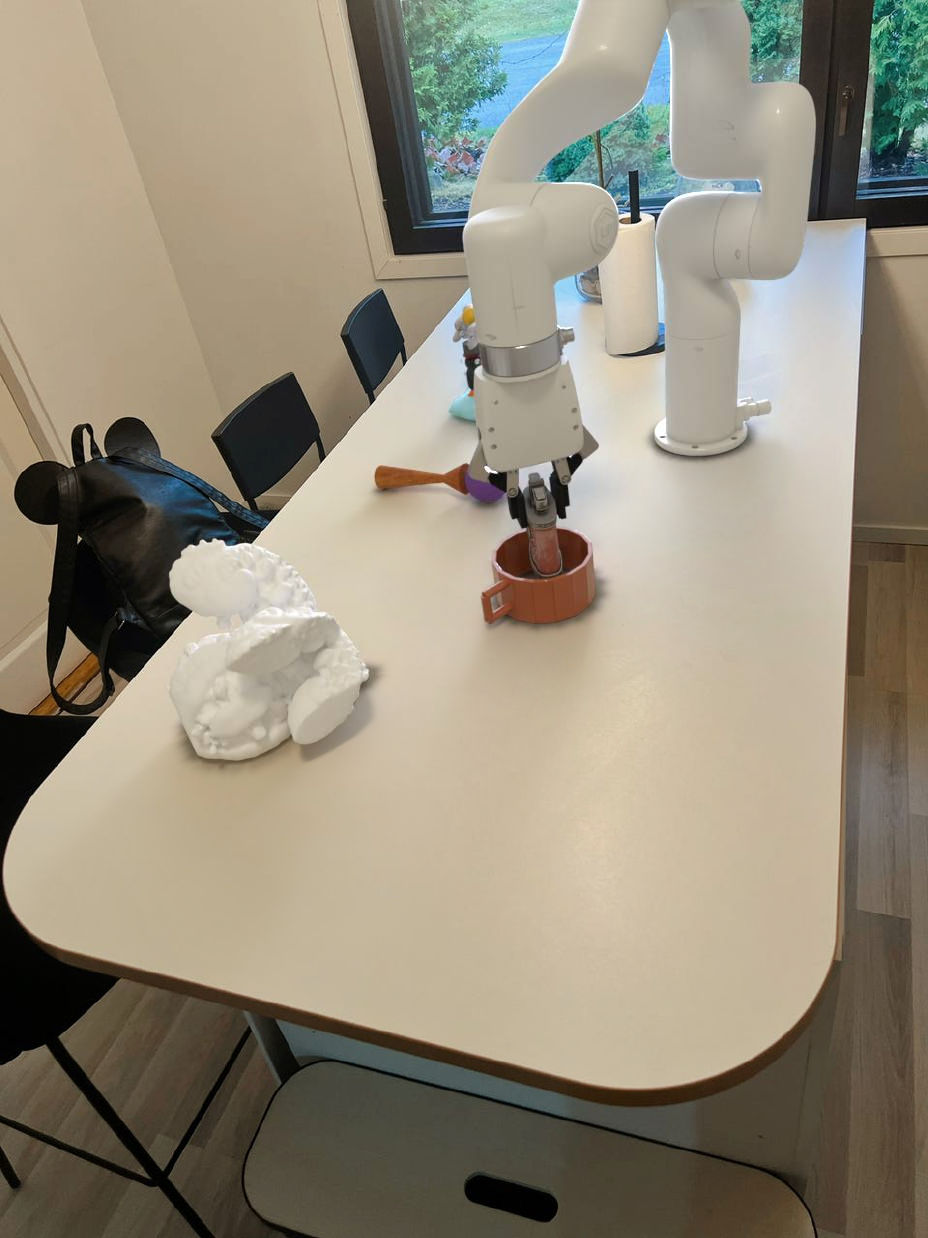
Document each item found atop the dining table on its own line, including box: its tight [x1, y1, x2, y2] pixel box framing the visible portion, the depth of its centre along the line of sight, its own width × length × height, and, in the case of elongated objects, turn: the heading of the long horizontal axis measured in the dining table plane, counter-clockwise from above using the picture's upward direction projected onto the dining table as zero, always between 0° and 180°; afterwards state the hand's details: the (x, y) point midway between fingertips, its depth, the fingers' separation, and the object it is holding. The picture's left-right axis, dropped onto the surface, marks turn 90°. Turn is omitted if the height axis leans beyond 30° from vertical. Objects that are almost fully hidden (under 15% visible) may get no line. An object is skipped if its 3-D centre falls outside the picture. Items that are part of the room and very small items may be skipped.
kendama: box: [373, 462, 506, 503], centre depth 119 cm, size 6×6×20 cm
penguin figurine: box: [448, 302, 482, 422], centre depth 139 cm, size 20×11×15 cm, turn 157°
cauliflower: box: [164, 537, 370, 762], centre depth 85 cm, size 19×20×20 cm
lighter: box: [522, 471, 564, 579], centre depth 93 cm, size 8×3×10 cm, turn 5°
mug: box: [480, 525, 597, 625], centre depth 96 cm, size 14×11×6 cm
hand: (540, 515), depth 93 cm, fingers closed on lighter, 3 cm apart
